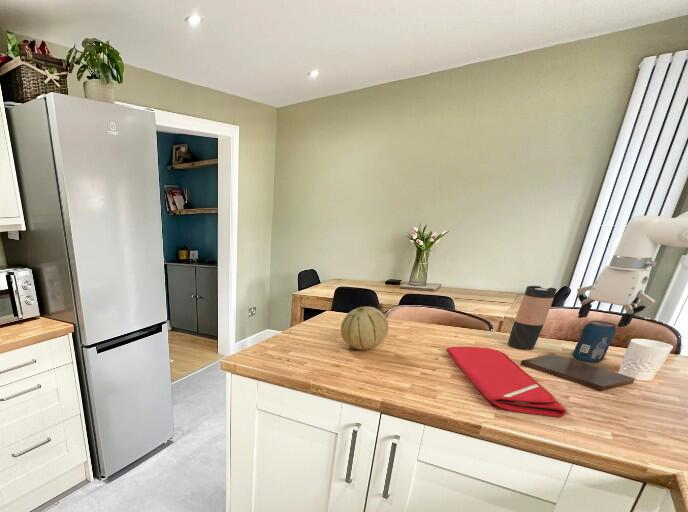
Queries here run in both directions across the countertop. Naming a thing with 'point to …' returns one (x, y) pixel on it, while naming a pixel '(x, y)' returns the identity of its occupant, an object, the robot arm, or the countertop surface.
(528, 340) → the travel mug
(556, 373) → the serving board
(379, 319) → the cantaloupe
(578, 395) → the countertop surface
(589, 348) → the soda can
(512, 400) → the red folded napkin
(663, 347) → the white cup
